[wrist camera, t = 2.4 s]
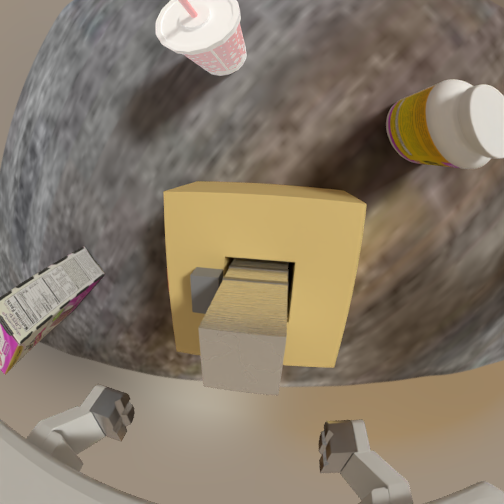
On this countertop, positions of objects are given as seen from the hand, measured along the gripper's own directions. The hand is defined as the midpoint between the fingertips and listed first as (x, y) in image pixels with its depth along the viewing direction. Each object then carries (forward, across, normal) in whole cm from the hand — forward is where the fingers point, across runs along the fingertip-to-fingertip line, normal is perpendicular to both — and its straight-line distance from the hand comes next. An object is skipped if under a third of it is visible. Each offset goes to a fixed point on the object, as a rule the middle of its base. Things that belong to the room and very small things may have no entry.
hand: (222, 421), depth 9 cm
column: (+20, 0, 0) cm, 20 cm away
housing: (+20, 0, 0) cm, 20 cm away
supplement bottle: (+20, -14, -14) cm, 28 cm away
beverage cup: (+20, +4, -20) cm, 29 cm away
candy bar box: (+20, +24, +6) cm, 32 cm away
